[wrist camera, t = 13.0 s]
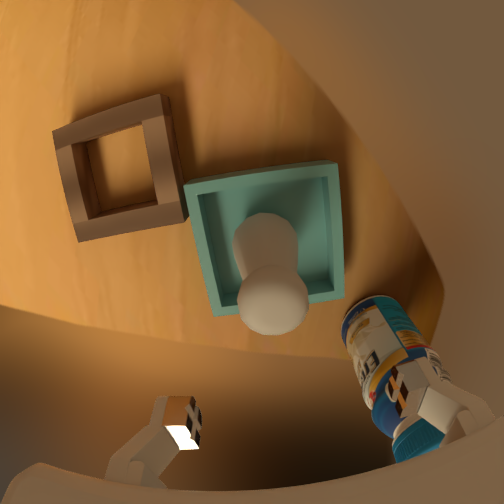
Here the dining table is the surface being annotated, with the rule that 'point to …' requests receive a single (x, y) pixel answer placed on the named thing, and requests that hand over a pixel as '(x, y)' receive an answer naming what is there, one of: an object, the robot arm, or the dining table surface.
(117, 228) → the socket collar
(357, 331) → the beverage bottle
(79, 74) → the dining table surface
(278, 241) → the salt shaker
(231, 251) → the tray
